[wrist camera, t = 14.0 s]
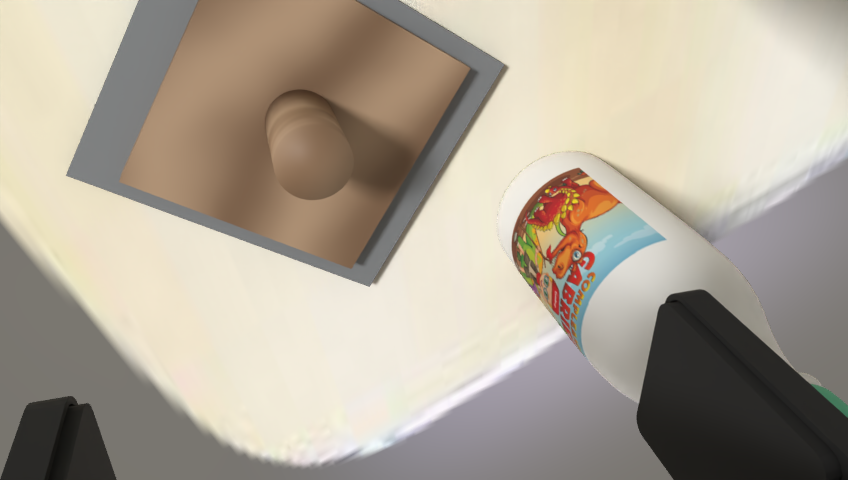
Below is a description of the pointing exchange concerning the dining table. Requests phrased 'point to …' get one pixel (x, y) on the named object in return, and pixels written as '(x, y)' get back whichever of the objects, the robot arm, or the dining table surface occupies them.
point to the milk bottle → (615, 263)
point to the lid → (293, 119)
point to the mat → (104, 162)
